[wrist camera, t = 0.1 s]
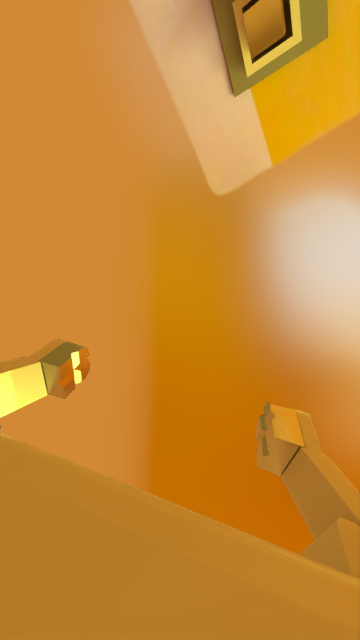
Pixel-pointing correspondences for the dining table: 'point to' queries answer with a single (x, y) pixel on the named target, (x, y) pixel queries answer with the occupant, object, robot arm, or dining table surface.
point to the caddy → (301, 35)
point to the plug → (264, 24)
